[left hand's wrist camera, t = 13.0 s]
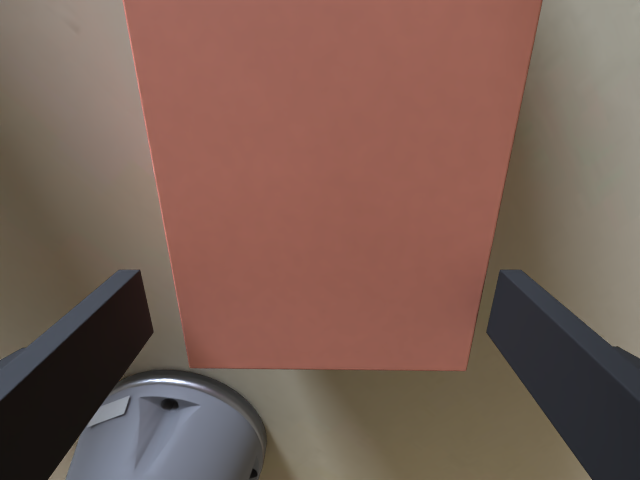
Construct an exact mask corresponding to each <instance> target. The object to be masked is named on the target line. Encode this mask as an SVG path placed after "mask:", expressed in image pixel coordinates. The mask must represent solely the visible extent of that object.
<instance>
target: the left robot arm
mask: <svg viewBox="0 0 640 480" xmlns="http://www.w3.org/2000/svg"><path fill="white" fill-rule="evenodd" d="M153 333H154V332H153V327H152V322H151V318H150V313H149V309H148V304H147V299H146V295H145V290H144V286H143V281H142V277H141V272H140V270H118V271H117V272H116V273H115V274H113V275H112V276H111V277H110V278H109V279H107V280H106V281H105V282H104V283H103V284H102V285H100V286H99V287H98V288H97V289H96V290H94V291H93V292H92V293H91V294H90V295H88V296H87V297H86V298H85V299H84V300H82V301H81V302H80V303H79V304H78V305H77V306H75V307H74V308H73V309H72V310H71V311H69V312H68V313H67V314H66V315H65V316H63V317H62V318H61V319H60V320H59V321H57V322H56V323H55V324H54V325H53V326H52V327H50V328H49V329H48V330H47V331H46V332H44V333H43V334H42V335H41V336H40V337H38V338H37V339H36V340H35V341H34V342H32V343H31V344H30V345H29V346H28V347H27V348H21V349H20V350H18V351H16V352H14V353H12V354H10V355H9V356H7V357H5V358H3V359H1V360H0V480H48V479H49V477H50V476H51V474H52V473H53V472H54V470H55V469H56V468H57V466H58V465H59V463H60V462H61V461H62V459H63V458H64V456H65V455H66V454H67V452H68V451H69V449H70V448H71V447H72V445H73V444H74V442H75V441H76V440H77V438H78V437H79V436H80V438H79V441H78V444H77V447H76V450H75V453H74V456H73V459H72V461H71V464H70V467H69V470H68V473H67V476H66V479H65V480H258V478H259V476H260V473H261V470H262V467H263V463H264V457H265V451H266V443H267V440H266V432H265V428H264V425H263V422H262V420H261V418H260V416H259V415H258V413H257V412H256V410H255V409H254V408H253V406H252V405H251V404H250V403H249V402H248V401H247V400H246V399H245V398H244V397H242V396H241V395H240V394H239V393H237V392H236V391H235V390H233V389H231V388H230V387H228V386H226V385H225V384H223V383H221V382H219V381H216V380H214V379H211V378H209V377H206V376H203V375H199V374H195V373H191V372H186V371H178V370H154V371H147V372H142V373H138V374H135V375H132V376H129V377H127V378H125V379H123V380H121V381H119V380H120V378H121V377H122V376H123V374H124V373H125V372H126V370H127V369H128V367H129V366H130V365H131V363H132V362H133V360H134V359H135V358H136V356H137V355H138V353H139V352H140V351H141V349H142V348H143V347H144V345H145V344H146V342H147V341H148V340H149V338H150V337H151V335H152V334H153ZM486 333H487V334H488V335H489V337H490V338H491V340H492V341H493V342H494V344H495V345H496V347H497V348H498V349H499V351H500V352H501V353H502V355H503V356H504V358H505V359H506V360H507V362H508V363H509V365H510V366H511V367H512V369H513V370H514V372H515V373H516V374H517V376H518V377H519V379H520V380H521V381H522V383H523V384H524V385H525V387H526V388H527V390H528V391H529V392H530V394H531V395H532V397H533V398H534V399H535V401H536V402H537V404H538V405H539V406H540V408H541V409H542V410H543V412H544V413H545V415H546V416H547V417H548V419H549V420H550V422H551V423H552V424H553V426H554V427H555V429H556V430H557V431H558V433H559V434H560V436H561V437H562V438H563V440H564V441H565V442H566V444H567V445H568V447H569V448H570V449H571V451H572V452H573V454H574V455H575V456H576V458H577V459H578V461H579V462H580V463H581V465H582V466H583V468H584V469H585V470H586V472H587V473H588V474H589V476H590V477H591V479H592V480H640V359H639V358H638V357H636V356H634V355H632V354H630V353H629V352H627V351H625V350H623V349H621V348H619V347H612V346H611V345H610V344H609V343H608V342H606V341H605V340H604V339H603V338H602V337H600V336H599V335H598V334H597V333H596V332H594V331H593V330H592V329H591V328H590V327H588V326H587V325H586V324H585V323H584V322H583V321H581V320H580V319H579V318H578V317H577V316H575V315H574V314H573V313H572V312H571V311H569V310H568V309H567V308H566V307H565V306H563V305H562V304H561V303H560V302H559V301H558V300H556V299H555V298H554V297H553V296H552V295H550V294H549V293H548V292H547V291H546V290H544V289H543V288H542V287H541V286H540V285H538V284H537V283H536V282H535V281H534V280H533V279H531V278H530V277H529V276H528V275H527V274H525V273H524V272H523V271H522V270H500V272H499V277H498V281H497V286H496V290H495V295H494V299H493V304H492V309H491V313H490V318H489V322H488V327H487V332H486ZM118 381H119V382H118ZM80 434H81V435H80Z"/></svg>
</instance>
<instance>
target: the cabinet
mask: <svg viewBox="0 0 640 480" xmlns="http://www.w3.org/2000/svg"><path fill="white" fill-rule="evenodd" d="M542 1H543V0H123V5H124V10H125V15H126V21H127V26H128V32H129V37H130V43H131V48H132V54H133V59H134V65H135V70H136V76H137V81H138V87H139V92H140V98H141V103H142V109H143V114H144V120H145V125H146V131H147V136H148V142H149V147H150V153H151V158H152V164H153V169H154V175H155V180H156V186H157V191H158V197H159V202H160V208H161V213H162V219H163V224H164V230H165V235H166V241H167V246H168V252H169V257H170V263H171V268H172V274H173V279H174V285H175V290H176V296H177V301H178V306H179V312H180V317H181V323H182V328H183V334H184V339H185V345H186V350H187V356H188V361H189V367H190V368H224V369H318V370H412V371H466V369H467V364H468V360H469V355H470V350H471V345H472V340H473V335H474V331H475V326H476V321H477V316H478V311H479V306H480V301H481V297H482V292H483V287H484V282H485V277H486V272H487V268H488V263H489V258H490V253H491V248H492V243H493V238H494V234H495V229H496V224H497V219H498V214H499V209H500V205H501V200H502V195H503V190H504V185H505V180H506V175H507V171H508V166H509V161H510V156H511V151H512V146H513V141H514V137H515V132H516V127H517V122H518V117H519V112H520V108H521V103H522V98H523V93H524V88H525V83H526V78H527V74H528V69H529V64H530V59H531V54H532V49H533V45H534V40H535V35H536V30H537V25H538V20H539V15H540V11H541V6H542Z"/></svg>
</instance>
